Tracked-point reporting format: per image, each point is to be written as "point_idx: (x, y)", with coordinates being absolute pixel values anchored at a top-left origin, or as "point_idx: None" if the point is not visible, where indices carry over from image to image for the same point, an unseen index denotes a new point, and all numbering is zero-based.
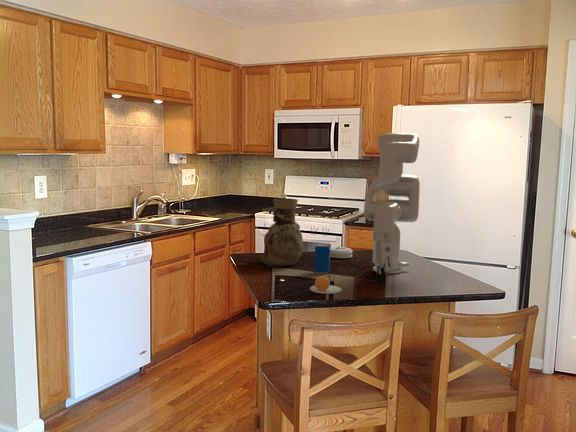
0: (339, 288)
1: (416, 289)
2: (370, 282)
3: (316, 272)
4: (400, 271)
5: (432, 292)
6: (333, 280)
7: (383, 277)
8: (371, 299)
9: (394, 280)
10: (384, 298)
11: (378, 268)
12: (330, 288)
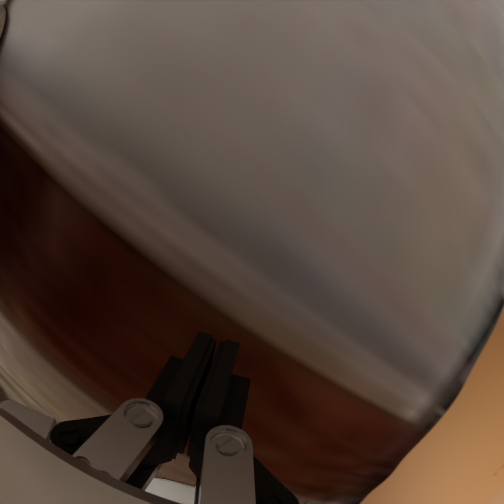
0: (189, 489)
1: (392, 76)
2: (73, 309)
3: None
4: (2, 13)
5: (481, 53)
6: (55, 419)
7: (240, 420)
8: (394, 470)
9: (67, 91)
10: (426, 431)
11: (143, 489)
12: (183, 499)
